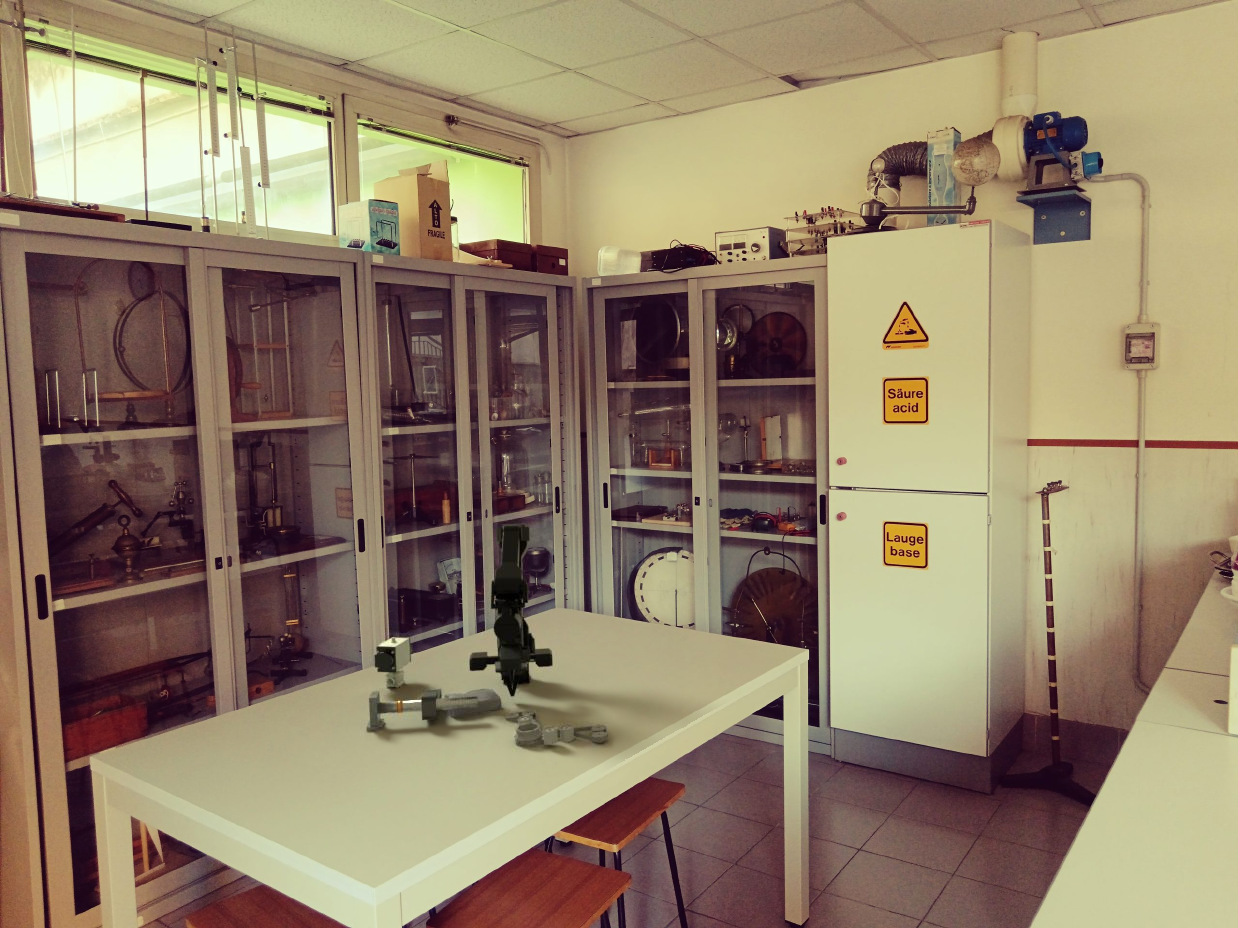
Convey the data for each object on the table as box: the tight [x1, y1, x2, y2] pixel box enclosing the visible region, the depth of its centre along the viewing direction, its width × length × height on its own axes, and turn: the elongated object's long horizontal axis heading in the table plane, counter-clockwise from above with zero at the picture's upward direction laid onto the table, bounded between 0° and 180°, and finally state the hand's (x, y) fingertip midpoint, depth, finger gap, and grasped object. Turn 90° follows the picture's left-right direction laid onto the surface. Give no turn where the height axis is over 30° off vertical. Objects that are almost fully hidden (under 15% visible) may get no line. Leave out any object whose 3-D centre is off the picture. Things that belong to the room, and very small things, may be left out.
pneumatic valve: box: [373, 636, 413, 689], centre depth 221 cm, size 6×12×12 cm, turn 168°
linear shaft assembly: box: [366, 691, 478, 732], centre depth 194 cm, size 23×5×7 cm, turn 97°
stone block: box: [443, 688, 503, 719], centre depth 204 cm, size 12×5×10 cm
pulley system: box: [504, 709, 608, 748], centre depth 187 cm, size 27×5×15 cm
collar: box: [420, 688, 443, 721], centre depth 199 cm, size 3×14×5 cm, turn 7°
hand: (512, 695), depth 207 cm, fingers closed
